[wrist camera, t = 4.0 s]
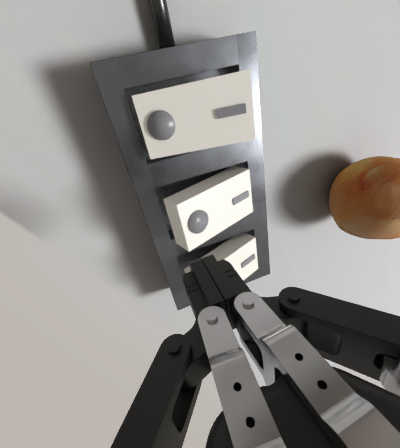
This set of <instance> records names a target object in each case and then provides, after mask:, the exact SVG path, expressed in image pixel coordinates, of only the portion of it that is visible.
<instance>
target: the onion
mask: <svg viewBox="0 0 400 448" xmlns="http://www.w3.org/2000/svg"><path fill="white" fill-rule="evenodd" d="M329 208H330V212H331V214H332V216H333V218H334V220H335V222H336V224H337V225H338V227H339V228H340V229H342V230H343V231H345V232H347V233H349V234H351V235H354V236H357V237H361V238H366V239H394V238H399V237H400V159H399V158H392V157H383V156H378V157H370V158H366V159H363V160H360V161H357V162H355V163H353V164H351V165H349V166H348V167H347V168H345V169H344V170H343V171H341V172H340V173H339V174H338V176H337V177H336V179H335V180H334V182H333V184H332V187H331V190H330V196H329Z"/></svg>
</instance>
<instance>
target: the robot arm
mask: <svg viewBox="0 0 400 448" xmlns="http://www.w3.org/2000/svg"><path fill="white" fill-rule="evenodd" d="M189 265H190V269H191V271H190V272H188V273H185V274H184V276H183V284H184V287H185V290H186V293H187V297H188V300H189V302H190V305H191V307H192V310H193V313H194V315H195V318H196V321H195V324H194V326H193V327H192V328H191V329H190V330H189V331H188V332H187V333H186V334H185V335H182V334H174V335H171V336H169V337H168V338H166V339H165V340H164V341H163V343H162V344H161V346H160V348H159V350H158V352H157V355H156V356H155V358H154V361H153V362H152V364H151V366H150V368H149V371H148V373H147V375H146V377H145V379H144V381H143V383H142V385H141V387H140V389H139V391H138V393H137V395H136V397H135V399H134V401H133V403H132V405H131V407H130V409H129V411H128V413H127V415H126V417H125V419H124V421H123V424H122V425H121V427H120V429H119V432H118V434H117V435H116V438H115V440H114V442H113V444H112V446H111V448H182V445H183V442H184V438H185V435H186V432H187V429H188V426H189V422H190V419H191V416H192V413H193V409H194V406H195V403H196V400H197V396H198V393H199V390H200V387H201V383H202V379H203V378H205V377H206V376H207V374H209V373H210V372H211V371H212V373H213V376H214V380H215V383H216V387H217V391H218V394H219V397H220V401H221V405H222V408H223V411H222V412H221V413H220V414H219V416H218V417H217V418H216V420H215V422H214V423H213V426H212V428H211V430H210V433H209V436H208V439H207V444H206V448H400V316H396V315H393V314H389V313H386V312H382V311H379V310H375V309H371V308H368V307H364V306H361V305H357V304H354V303H350V302H347V301H343V300H339V299H336V298H332V297H329V296H325V295H322V294H318V293H315V292H311V291H308V290H304V289H300V288H297V287H287V288H285V289H283V290H282V291H281V292H280V293H279V296H276V297H260V296H259V295H257V294H255V293H253V292H251V291H250V289H249V288H248V286H247V285H246V284H245V282H244V281H243V280H242V278H241V277H240V276H239V274H238V273H237V271H236V270H235V269H234V267H233V266H232V265H231V263H230V262H228V261H226V260H224V259H222V260H220V261H217V260H216V258H215V257H214V255H213V254H211V255H209V256H206V257H203V258H201V259H198V260H195V261H192V262H190V263H189ZM235 328H236V329H237V330H238V332H239V335H240V340H241V342H242V344H243V345H244V347H245V349H246V350H247V352H248V353H249V355H250V356H251V358H252V359H253V361H254V363H255V364H256V366H257V367H258V369H259V370H260V372H261V374H262V376H263V378H264V380H265V383H266V385H267V386H263V387H259V385H258V382H257V380H256V378H255V376H254V373H253V371H252V369H251V366H250V364H249V362H248V360H247V357H246V355H245V353H244V351H243V349H242V348H240V346H239V344H238V341H237V339H236V337H235V334H234V332H233V329H235ZM324 358H325V359H327V360H330V361H332V362H335V363H337V364H340V365H342V366H344V367H347V368H349V369H352V370H354V371H357V372H359V373H361V374H364V375H366V376H369V377H371V378H373V379H376V380H378V381H381V383H382V385H383V386H384V388H385V389H386V390H385V389H383V388H380V387H378V386H376V385H374V384H372V383H369V382H368V381H365V380H363V379H361V378H359V377H357V376H354V375H352V374H350V373H348V372H346V371H343V370H341V369H338V368H335V367H332V366H330V364H329V363H328V362H327V361H326V360H325V359H324Z"/></svg>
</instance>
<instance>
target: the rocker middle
mask: <svg viewBox="0 0 400 448" xmlns="http://www.w3.org/2000/svg"><path fill="white" fill-rule="evenodd" d="M163 200H164V204H165V207H166V210H167V214H168V217H169V220H170V224H171V227H172V230H173V234H174V237H175V240H176V243H177V244H178V245H180V246H181V247H183V248H184V249H186V250H187V251H189V252H190V251H191V250H193V249H195V248H196V247H198V246H199V245H201V244H202V243H204V242H206V241H207V240H209V239H210V238H212V237H214V236H215V235H217V234H218V233H220V232H222V231H223V230H225V229H226V228H228V227H229V226H231V225H233V224H234V223H236V222H237V221H239V220H241V219H242V218H244V217H245V216H247V215H249V214H250V213H252V212H253V204H252V193H251V182H250V171H249V169H247V168H241V167H235V166H233V167H231V168H229V169H226V170H224V171H222V172H220V173H218V174H216V175H214V176H212V177H210V178H207V179H205V180H203V181H201V182H199V183H197V184H195V185H193V186H190V187H188V188H186V189H184V190H182V191H180V192H178V193H176V194H174V195H171V196H169V197H167V198H165V199H163Z"/></svg>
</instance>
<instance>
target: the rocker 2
mask: <svg viewBox="0 0 400 448" xmlns="http://www.w3.org/2000/svg"><path fill="white" fill-rule="evenodd" d="M211 254H213V255H214V257H215V258H216V260H217V261H220V260H222V259H224V260H226V261H228V262H230V263H231V265H232V266H233V267H234V269H235V270H236V271H237V273H238V274H239V276H240V277H241V278H242V280H245V279H246V278H247V277H248V276H250V275H251V274H252V273H253V272H255V271H256V270H257V269H258V260H257V249H256V238H255V237H254V236H252V235H249V234H247V233H245V232H244V233H242V234H239V235H236V236H233V237H232V238H230V239H229V240H227V241H226V242H224V243H223V244H221V245H220V246H218V247H217V248H215V249H214V250H212V251H211V252H209V253H208V254H206V255H205V256H203V257H206V256H209V255H211ZM203 257H202V258H203ZM200 259H201V258H200ZM184 271H185V273H188V272H190V271H191V269H190V266H188V267H187V268H185V269H184Z"/></svg>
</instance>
